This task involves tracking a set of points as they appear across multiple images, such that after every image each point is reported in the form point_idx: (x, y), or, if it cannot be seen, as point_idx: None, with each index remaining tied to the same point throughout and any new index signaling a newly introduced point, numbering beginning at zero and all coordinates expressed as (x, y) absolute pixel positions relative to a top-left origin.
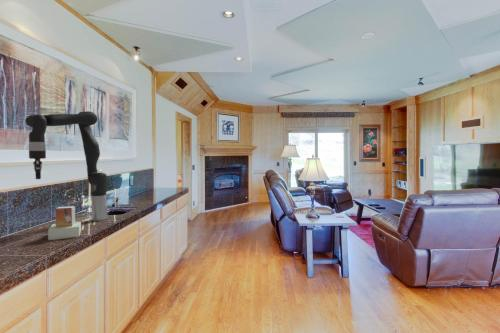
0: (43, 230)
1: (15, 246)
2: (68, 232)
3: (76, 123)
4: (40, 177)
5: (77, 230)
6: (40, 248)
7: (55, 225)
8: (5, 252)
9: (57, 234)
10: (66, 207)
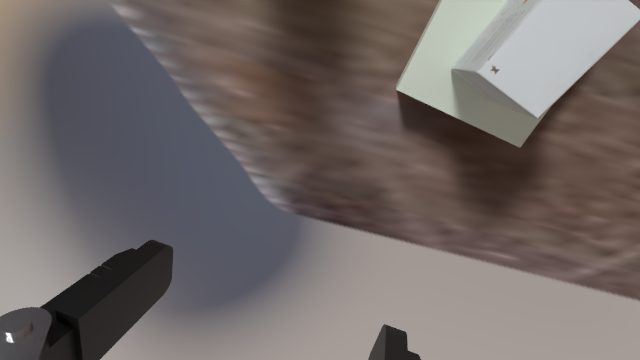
0: (295, 94)
1: (474, 232)
2: None
3: None
4: (406, 349)
5: None
6: (608, 194)
7: (444, 89)
8: (525, 269)
9: None
10: (586, 44)
